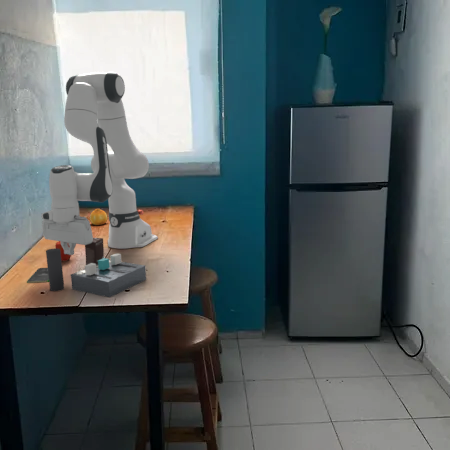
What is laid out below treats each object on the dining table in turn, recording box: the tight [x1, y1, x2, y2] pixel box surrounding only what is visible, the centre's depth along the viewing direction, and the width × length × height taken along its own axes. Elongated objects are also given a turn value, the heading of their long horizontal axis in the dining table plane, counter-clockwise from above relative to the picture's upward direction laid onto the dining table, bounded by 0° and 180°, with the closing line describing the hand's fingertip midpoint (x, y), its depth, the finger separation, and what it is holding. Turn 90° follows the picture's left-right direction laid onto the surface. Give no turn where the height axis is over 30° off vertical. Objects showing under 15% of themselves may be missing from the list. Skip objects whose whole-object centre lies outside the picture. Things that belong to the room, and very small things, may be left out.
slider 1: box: [84, 263, 97, 275], centre depth 171 cm, size 3×2×3 cm, turn 150°
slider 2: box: [109, 252, 122, 265], centre depth 181 cm, size 3×2×3 cm, turn 150°
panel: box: [70, 259, 147, 298], centre depth 176 cm, size 18×16×5 cm
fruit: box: [89, 208, 108, 226], centre depth 262 cm, size 8×8×8 cm
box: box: [84, 237, 105, 265], centre depth 188 cm, size 6×4×12 cm
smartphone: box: [26, 267, 49, 284], centre depth 187 cm, size 8×1×15 cm
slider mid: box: [98, 257, 110, 270], centre depth 176 cm, size 3×2×3 cm, turn 150°
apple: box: [55, 241, 72, 262], centre depth 204 cm, size 6×6×8 cm
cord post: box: [45, 247, 65, 292], centre depth 172 cm, size 4×4×13 cm
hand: (69, 254), depth 182 cm, fingers closed
